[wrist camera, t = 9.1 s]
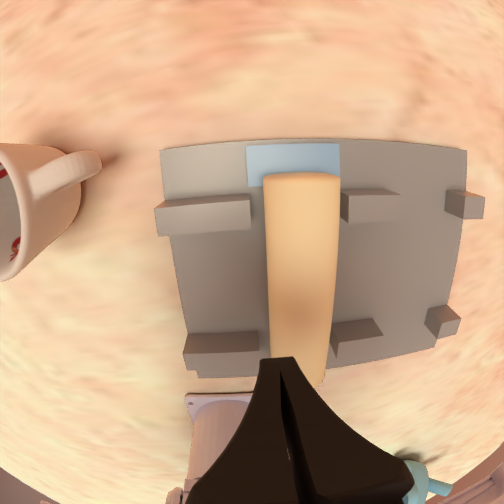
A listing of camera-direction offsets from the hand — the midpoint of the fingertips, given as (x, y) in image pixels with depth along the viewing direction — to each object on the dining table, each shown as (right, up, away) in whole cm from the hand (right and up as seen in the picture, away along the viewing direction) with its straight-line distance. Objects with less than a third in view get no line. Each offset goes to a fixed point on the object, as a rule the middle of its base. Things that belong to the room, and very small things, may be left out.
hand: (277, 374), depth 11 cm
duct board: (+5, +4, +9) cm, 11 cm away
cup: (-15, +10, +7) cm, 19 cm away
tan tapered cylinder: (+2, +3, +8) cm, 9 cm away
